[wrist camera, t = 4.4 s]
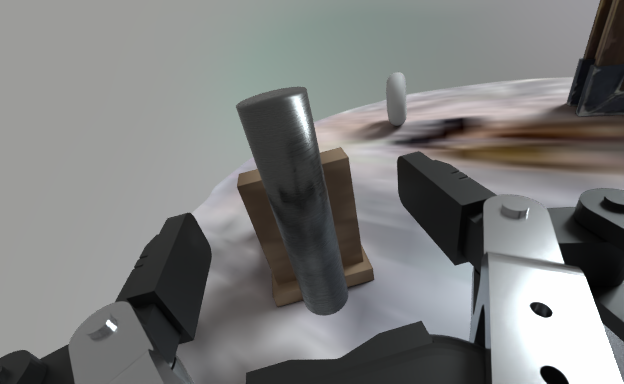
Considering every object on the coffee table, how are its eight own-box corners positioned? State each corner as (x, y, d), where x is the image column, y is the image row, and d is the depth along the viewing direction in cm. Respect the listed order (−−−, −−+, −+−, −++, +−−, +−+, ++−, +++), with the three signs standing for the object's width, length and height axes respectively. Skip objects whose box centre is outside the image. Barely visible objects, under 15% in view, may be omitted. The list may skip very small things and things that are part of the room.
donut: (390, 117, 59) (388, 68, 54) (406, 115, 58) (406, 66, 53) (387, 134, 51) (384, 80, 46) (406, 132, 50) (405, 76, 45)
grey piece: (308, 176, 32) (280, 61, 26) (354, 307, 16) (312, 94, 10) (284, 183, 32) (250, 68, 26) (307, 321, 16) (232, 114, 10)
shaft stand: (328, 182, 40) (312, 103, 34) (374, 279, 24) (359, 160, 18) (270, 198, 40) (244, 120, 34) (277, 306, 24) (228, 195, 17)
